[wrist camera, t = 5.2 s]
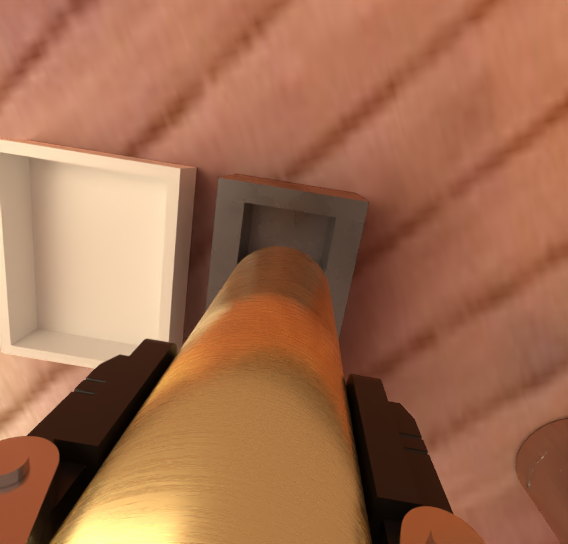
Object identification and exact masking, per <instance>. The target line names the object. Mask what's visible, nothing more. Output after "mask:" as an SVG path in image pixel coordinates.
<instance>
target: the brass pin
mask: <svg viewBox="0 0 568 544" xmlns="http://www.w3.org/2000/svg"><path fill="white" fill-rule="evenodd" d="M49 544H372V540H371V534H370V528H369V522H368V516H367V510H366V504H365V498H364V492H363V486H362V480H361V474H360V468H359V462H358V456H357V450H356V444H355V438H354V432H353V426H352V420H351V414H350V408H349V402H348V396H347V390H346V384H345V378H344V372H343V366H342V360H341V354H340V348H339V342H338V336H337V330H336V324H335V318H334V312H333V306H332V300H331V294H330V288H329V284H328V280H327V278H326V276H325V274H324V272H323V270H322V269H321V267H320V266H319V265H318V264H317V263H316V262H315V261H314V260H313V259H312V258H311V257H309V256H308V255H306V254H305V253H303V252H301V251H299V250H296V249H293V248H289V247H282V246H272V247H266V248H262V249H259V250H257V251H254V252H252V253H251V254H249V255H248V256H246V257H245V258H244V259H243V260H242V261H241V262H240V263H239V264H238V265H237V266H236V268H235V269H234V271H233V272H232V274H231V275H230V277H229V278H228V280H227V281H226V283H225V284H224V286H223V287H222V288H221V290H220V291H219V293H218V294H217V296H216V297H215V299H214V300H213V302H212V303H211V305H210V306H209V308H208V309H207V311H206V312H205V314H204V315H203V317H202V318H201V319H200V321H199V322H198V324H197V325H196V327H195V328H194V330H193V331H192V333H191V334H190V336H189V337H188V339H187V340H186V342H185V343H184V345H183V346H182V348H181V349H180V351H179V352H178V353H177V355H176V356H175V358H174V359H173V361H172V362H171V364H170V365H169V367H168V368H167V370H166V371H165V373H164V374H163V376H162V377H161V379H160V380H159V382H158V383H157V384H156V386H155V387H154V389H153V390H152V392H151V393H150V395H149V396H148V398H147V399H146V401H145V402H144V404H143V405H142V407H141V408H140V410H139V411H138V413H137V414H136V415H135V417H134V418H133V420H132V421H131V423H130V424H129V426H128V427H127V429H126V430H125V432H124V433H123V435H122V436H121V438H120V439H119V441H118V442H117V444H116V445H115V446H114V448H113V449H112V451H111V452H110V454H109V455H108V457H107V458H106V460H105V461H104V463H103V464H102V466H101V467H100V469H99V470H98V472H97V473H96V475H95V476H94V478H93V479H92V480H91V482H90V483H89V485H88V486H87V488H86V489H85V491H84V492H83V494H82V495H81V497H80V498H79V500H78V501H77V503H76V504H75V506H74V507H73V509H72V510H71V511H70V513H69V514H68V516H67V517H66V519H65V520H64V522H63V523H62V525H61V526H60V528H59V529H58V531H57V532H56V534H55V535H54V537H53V538H52V540H51V541H50V542H49Z"/></svg>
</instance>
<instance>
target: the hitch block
mask: <svg viewBox="0 0 568 544" xmlns="http://www.w3.org/2000/svg"><path fill="white" fill-rule="evenodd" d="M368 205H369V201H367V200H365V199H364V198H362V197H361V196H359V195H358V194H356V193H352V192H346V191H340V190H333V189H327V188H321V187H315V186H309V185H303V184H296V183H290V182H284V181H278V180H272V179H265V178H259V177H253V176H247V175H241V174H233V175H228V176H223V177H219V178H218V188H217V198H216V208H215V218H214V229H213V239H212V249H211V259H210V269H209V279H208V290H207V300H206V310H205V312H206V311H207V309H208V308H209V306H210V305H211V303H212V302H213V300H214V299H215V297H216V296H217V294H218V293H219V291H220V290H221V288H222V287H223V286H224V284H225V283H226V281H227V280H228V278H229V277H230V275H231V274H232V272H233V271H234V269H235V268H236V266H237V265H238V264H239V263H240V262H241V261H242V260H243V259H244V258H245V257H246V256H248V255H249V254H251V253H252V252H254V251H257V250H259V249H262V248H266V247H272V246H282V247H289V248H293V249H296V250H299V251H301V252H303V253H305V254H306V255H308V256H309V257H311V258H312V259H313V260H314V261H315V262H316V263H317V264H318V265H319V266H320V267H321V269H322V270H323V272H324V274H325V276H326V278H327V280H328V284H329V288H330V294H331V300H332V306H333V312H334V318H335V324H336V330H337V336H338V341H339V337H340V332H341V328H342V323H343V318H344V314H345V309H346V305H347V300H348V296H349V291H350V287H351V282H352V277H353V273H354V268H355V264H356V259H357V255H358V250H359V246H360V241H361V236H362V232H363V227H364V223H365V218H366V214H367V209H368Z"/></svg>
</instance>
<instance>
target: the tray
mask: <svg viewBox="0 0 568 544" xmlns="http://www.w3.org/2000/svg"><path fill="white" fill-rule="evenodd" d="M196 171H197V167H191V166H185V165H179V164H173V163H166V162H160V161H154V160H148V159H142V158H136V157H129V156H123V155H117V154H111V153H105V152H98V151H92V150H86V149H80V148H74V147H68V146H61V145H55V144H49V143H43V142H37V141H30V140H22V139H8V138H0V343H1V353H4V354H10V355H16V356H22V357H28V358H34V359H40V360H46V361H52V362H59V363H65V364H71V365H77V366H83V367H89V368H96V367H97V366H98V365H99V364H101V363H103V362H105V361H107V360H109V359H111V358H113V357H115V356H117V355H119V354H121V355H126V356H130V355H131V353H132V352H133V351H134V350H135V349H136V348H137V347H138V346H139V345H140V344H141V343H142V341H143V340H144V339H153V340H159V341H165V342H170V343H175V344H176V345H177V353H178V352H179V351H180V349H181V348H182V344H183V332H184V320H185V307H186V295H187V283H188V270H189V258H190V245H191V233H192V221H193V208H194V196H195V184H196Z"/></svg>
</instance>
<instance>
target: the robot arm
mask: <svg viewBox="0 0 568 544" xmlns="http://www.w3.org/2000/svg"><path fill="white" fill-rule="evenodd" d="M176 355H177V345H176V344H175V343H170V342H165V341H159V340H153V339H144V340H143V341H142V343H141V344H140V345H139V346H138V347H137V348H136V349H135V350H134V351H133V352H132V353H131V355H130V356H126V355H121V354H119V355H117V356H115V357H113V358H111V359H109V360H107V361H105V362H103V363H101V364H99V365H98V366H97V367H96V368H95V369H94V370H93V371H92V372H91V373H90V374H89V375H88V376H87V377H86V380H83V381H82V382H81V383H80V384H79V385H78V386H77V387H76V388H75V390H74V392H71V393H70V394H69V395H68V396H67V397H66V398H65V399H64V400H63V401H62V402H61V403H60V404H59V405H58V406H57V407H56V408H55V409H54V410H53V411H52V412H50V413H49V414H48V415H47V416H46V417H45V418H44V419H43V420H42V421H41V422H40V423H39V424H38V425H37V426H36V427H35V428H34V429H33V430H32V431H31V432H30V433H29V434H28V435H27V436H21V437H14V438H8V439H5V440H1V441H0V544H49V542H50V541H51V540H52V538H53V537H54V535H55V534H56V532H57V531H58V529H59V528H60V526H61V525H62V523H63V522H64V520H65V519H66V517H67V516H68V514H69V513H70V511H71V510H72V509H73V507H74V506H75V504H76V503H77V501H78V500H79V498H80V497H81V495H82V494H83V492H84V491H85V489H86V488H87V486H88V485H89V483H90V482H91V480H92V479H93V478H94V476H95V475H96V473H97V472H98V470H99V469H100V467H101V466H102V464H103V463H104V461H105V460H106V458H107V457H108V455H109V454H110V452H111V451H112V449H113V448H114V446H115V445H116V444H117V442H118V441H119V439H120V438H121V436H122V435H123V433H124V432H125V430H126V429H127V427H128V426H129V424H130V423H131V421H132V420H133V418H134V417H135V415H136V414H137V413H138V411H139V410H140V408H141V407H142V405H143V404H144V402H145V401H146V399H147V398H148V396H149V395H150V393H151V392H152V390H153V389H154V387H155V386H156V384H157V383H158V382H159V380H160V379H161V377H162V376H163V374H164V373H165V371H166V370H167V368H168V367H169V365H170V364H171V362H172V361H173V359H174V358H175V356H176ZM346 390H347V396H348V402H349V408H350V414H351V420H352V426H353V432H354V438H355V444H356V450H357V456H358V462H359V468H360V474H361V480H362V486H363V492H364V498H365V504H366V510H367V516H368V522H369V528H370V534H371V540H372V544H486V543H485V542H484V540H483V539H482V538H481V536H480V535H479V534H478V533H477V532H476V531H475V530H474V529H473V528H472V527H471V526H469V525H468V524H467V523H466V522H464V521H463V520H462V519H460V518H459V517H457V516H455V515H454V514H453V512H452V510H451V507H450V505H449V502H448V500H447V497H446V495H445V492H444V490H443V488H442V485H441V483H440V480H439V478H438V475H437V473H436V470H435V468H434V466H433V463H432V461H431V458H430V456H429V455H428V454H427V452H428V451H427V449H426V446H425V444H424V441H423V440H421V437H422V436H421V434H420V431H419V429H418V427H417V424H416V422H415V419H414V418H413V417H412V416H411V415H410V414H409V413H408V412H407V410H406V409H405V408H404V407H403V406H402V405H401V404H400V403H395V402H389V401H388V399H387V396H386V393H385V390H384V387H383V384H382V381H381V380H380V379H377V378H371V377H365V376H359V375H354V374H350V375H349V377H348V380H347V384H346ZM516 472H517V476H518V479H519V480H520V482H521V484H522V485H523V487H524V488H525V490H526V491H527V493H528V494H529V496H530V497H531V499H532V500H533V502H534V503H535V505H536V506H537V508H538V509H539V511H540V512H541V514H542V515H543V517H544V518H545V520H546V522H547V523H548V525H549V526H550V528H551V529H552V531H553V532H554V534H555V535H556V537H557V538H558V540H559V541H560V543H561V544H568V419H562V420H558V421H556V422H553V423H550V424H548V425H546V426H544V427H542V428H540V429H539V430H537V431H536V432H535V433H533V434H532V435H531V436H530V437H529V438H528V439H527V440H526V441H525V442H524V444H523V445H522V447H521V449H520V451H519V452H518V456H517V459H516Z"/></svg>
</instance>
